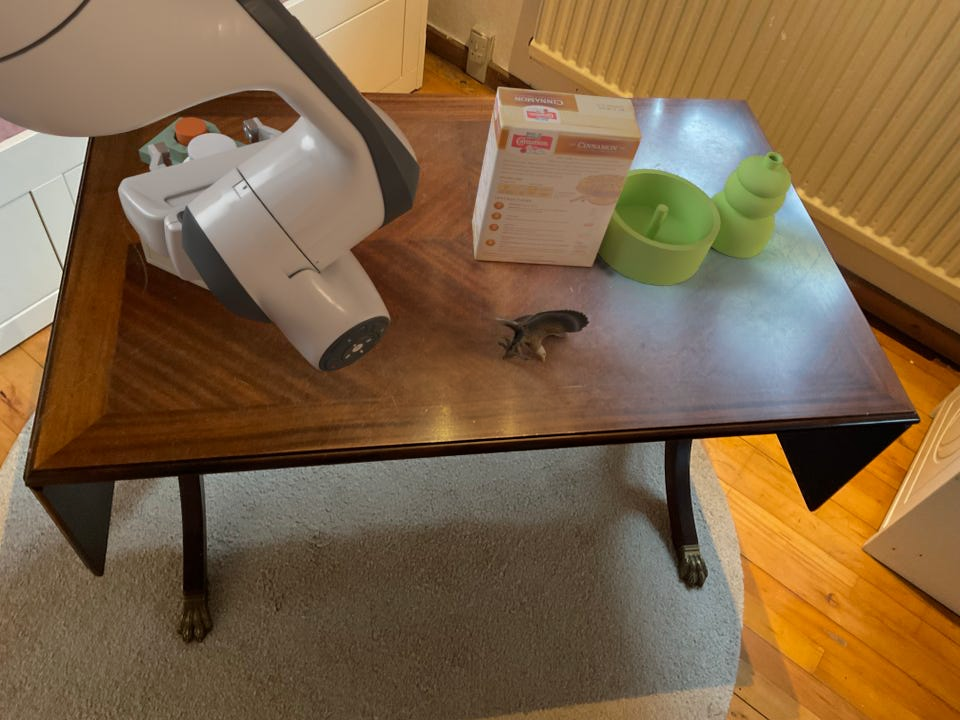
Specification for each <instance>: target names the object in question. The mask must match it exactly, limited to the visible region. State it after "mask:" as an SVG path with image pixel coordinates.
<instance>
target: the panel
mask: <svg viewBox="0 0 960 720" xmlns="http://www.w3.org/2000/svg"><path fill="white" fill-rule="evenodd" d="M183 118H184V117H182V116H180V117H178V118H177V119H176V120H174V121H173V122H172V123H171V124H170V125H168V126H167V127H166V128H164V129H163V130H162V131H161V132H159V133H158V134H157V135H155V136H154V137H153V138H152V139H150V140H149V141H148V142H147V143H145V144H144V145H143V146H142V147H141V148H139V149H138V154H139V158H140V161H141V162H142V163H145V164H147V165H149V166H150V163H151V157H150V154H149V150H148V145H151V144H155V143H159V142H164V143H165V146H167V147H168V149H169V150H170V155H171V157H170V158H171V160H172V164H173V165H177V164H180V163H183V162H184V160H185V159H186V158H187V157H189V155H188V146H183V145H181V144H180V143H179V142H178V140H177V136H176V131H175V124H176V123H177V122H178V121H179V120H181V119H183ZM200 119H201V118H200ZM201 120H203V121H204V122H205V123H206V125H207V131H208V133H218V134H222V132H221V131H220V129H219V128H218V127H217V125H216V124H214V123H212V122H210V121H207V120H205V119H201ZM230 138H231V137H230ZM231 139H232V140H233V141H234V142H235V143H236V145H237V148H239V147H243V146H246V145H247V144H246V143H243V142H241V141H239V140H236V139H234V138H231ZM173 165H172V166H173Z"/></svg>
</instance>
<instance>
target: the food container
mask: <svg viewBox="0 0 960 720" xmlns="http://www.w3.org/2000/svg"><path fill="white" fill-rule="evenodd" d="M783 162H784V158H783V156H782V155H781V154H779V153H778V152H775V151H768V152H766V155H759V154H758V155H757V154H756V155H749V156H748V157H746V158H744V159H742V160H741V161H739V162H738V163H739V164H738V165H737V167H736V169H735V170H734V171H732V172H731V173H730V174H729V175H728V177H727V178H726V180H725V183H724V188H723V190H721V191H718V192H717V193H715V194H714V195H713V196H712V197H710V196H709V195H708V194H707V193H706V192H705V191H704V190H703V189H702V188H701V187H699V186H698V185H696V184H695V183H693V182H691V181H690V180H689V179H686V178H684V177H682V176H680V175H678V174H675V173H672V172H668V171H666V170H660V169H656V168H636V169H630V170H629V172H628V175H627V177H626V180H625V183H624V185H623V188H622V191H621V193H620V196H619V198H618V201H617V203H616V206H615V209H614V211H613V214H612V216H611V219H610V221H609V224H608V226H607V229H606V232H605V234H604V237H603V240H602V242H601V245H600V247H599V250H598V253H597V254H598V255H599V256H600V257H601V258H602V260H603V261H604V262H605V263H606V265H608V266H610V267H611V269H613V270H615V271H616V272H617V273H619V274H620V275H622V276H624V277H626V278H628V279H631V280H633V281H636V282H639V283H641V284H646V285H652V286H672V285H678V284H680V283H683V282H685V281H688V280H689V279H690V278H692V277H693V276H694V275H695V274H696V273H697V272H698V270H699V268H700V266H701V265H702V263H703V261H704V259H705V258H706V256H707V254H708V252H709V250H710V249H711V248H712V249H713V250H715V251H717V252H719V253H721V254H723V255H725V256H729V257H731V258H737V259H749V258H753V257H756V256H758V255H759V254H761V253H762V252H763V250H764V249H765V247H766V246H767V244H768V243H769V241H770V239H771V238H772V236H773V233H774V230H775V224H776V216H775V214H777V213H778V212H779V211H780V210H781V209H782V208H783V206H784V204H785V201H786V198H787V192H788V191H789V189H790V188H791V185H792V179H791V173H790V172H789V170H788V169H787V167H785V165H783Z"/></svg>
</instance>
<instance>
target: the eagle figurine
mask: <svg viewBox="0 0 960 720" xmlns="http://www.w3.org/2000/svg"><path fill="white" fill-rule="evenodd" d="M493 321H494V322H495V323H497V324H499V325H500V326H502V327H506V328H509V329H510V330H512V331H513V332H514V336H513V338H511V337H510V336H508V335H501V336H500V338H501V339H504V340H505V343H506V344H505V343H504V342H502V341H497V345H498V346H500V347H502V348H503V349H504V350H505V351H504V354H503V355H502V360H506V359H509V360H510V359H513V358H514V357H517V358H519V359H521V360H523V361H525V362H527V361H530V360H531V357H530V356H528V355H526V354H523V352H522V348H523V346H524V345H525V346H526V347H527V348H529V350H531V351H533V352H534V353H536V354H537V356H538V357H540V359H541V362H545V360H546V355H547V354H546V353H547V352H546V350H545V348H544V346H543V345H542V341H543V339H545V338H546V337H548V336H556V337H560V338H565V334H566V333H569V334H572V333H573V334H574V333H579V332H582V331H583V329H585V328H586V327H587V325H589V324H590V321H589V317H588V316H587V314H584V312H581V311H579V310H574V309H556V310H546V311H540V312H537V313H535V314H526V315H523V316H520V317H517V318H515V319H513V320H510V319H505V318H499V317H494V319H493Z"/></svg>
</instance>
